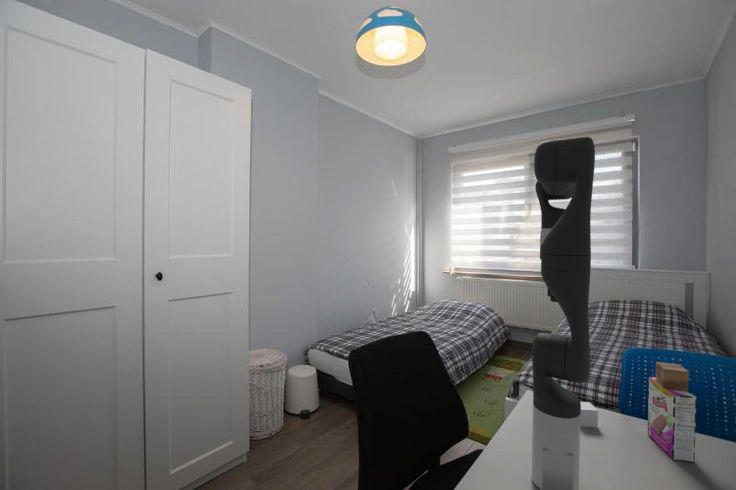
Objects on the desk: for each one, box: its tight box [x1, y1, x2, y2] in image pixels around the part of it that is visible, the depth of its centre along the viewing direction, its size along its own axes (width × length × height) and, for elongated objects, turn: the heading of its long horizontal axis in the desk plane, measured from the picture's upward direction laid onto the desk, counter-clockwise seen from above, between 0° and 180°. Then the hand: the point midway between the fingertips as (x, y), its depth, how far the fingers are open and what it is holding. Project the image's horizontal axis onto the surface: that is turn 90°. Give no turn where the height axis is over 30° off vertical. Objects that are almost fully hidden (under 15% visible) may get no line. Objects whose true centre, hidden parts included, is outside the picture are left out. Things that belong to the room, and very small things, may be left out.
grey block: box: [580, 401, 599, 428], centre depth 103 cm, size 5×5×5 cm
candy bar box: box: [647, 376, 697, 463], centre depth 90 cm, size 11×5×16 cm, turn 168°
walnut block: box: [655, 361, 690, 392], centre depth 90 cm, size 5×5×5 cm
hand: (553, 299), depth 103 cm, fingers open, 8 cm apart
